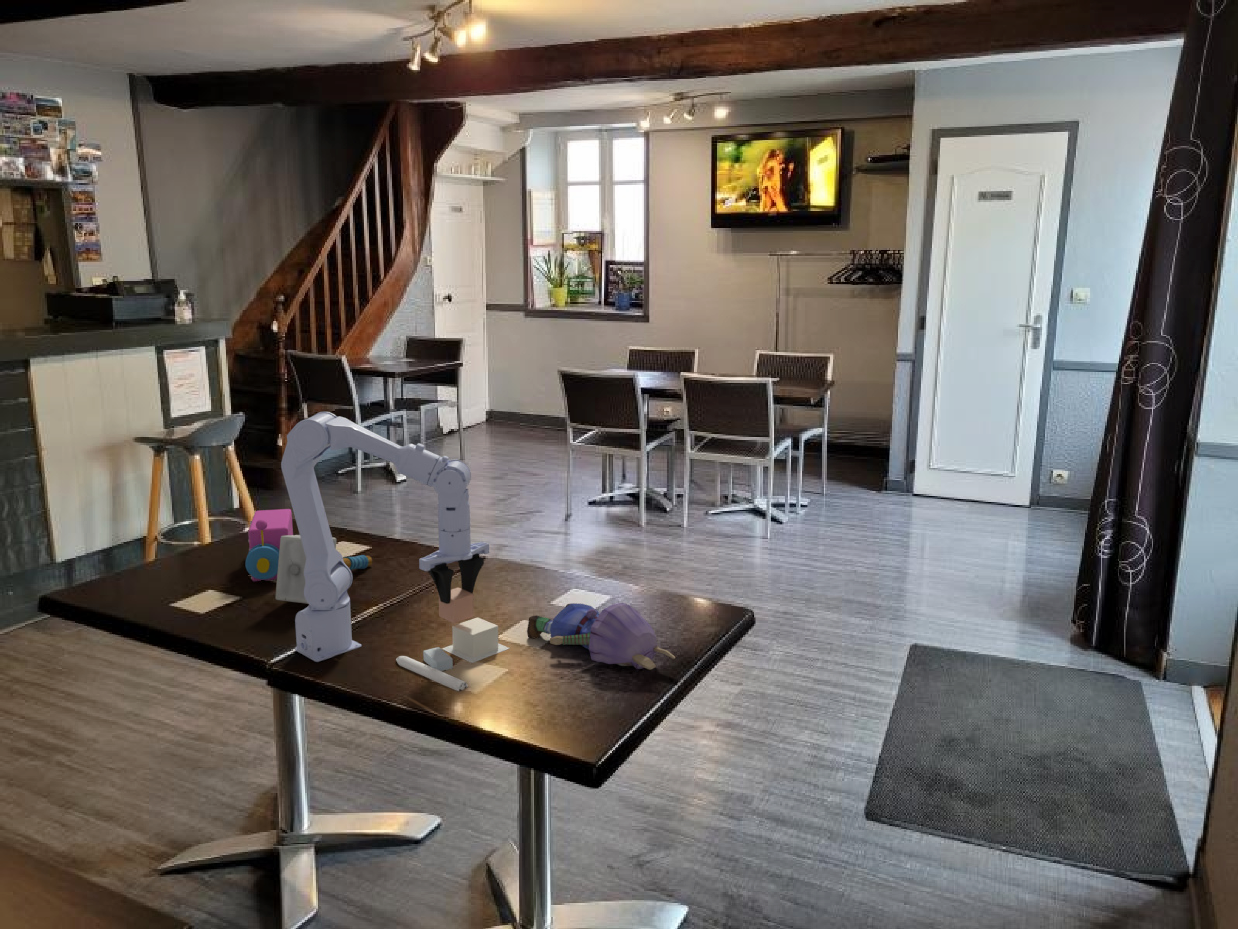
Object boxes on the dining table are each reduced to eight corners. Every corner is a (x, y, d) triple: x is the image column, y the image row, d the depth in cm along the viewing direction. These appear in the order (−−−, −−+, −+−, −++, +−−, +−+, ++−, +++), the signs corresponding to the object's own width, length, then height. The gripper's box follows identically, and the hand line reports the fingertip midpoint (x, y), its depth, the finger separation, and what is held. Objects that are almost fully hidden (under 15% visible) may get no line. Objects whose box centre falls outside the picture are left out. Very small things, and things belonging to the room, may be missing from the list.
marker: (391, 665, 165) (391, 653, 164) (401, 662, 166) (400, 650, 166) (458, 695, 154) (458, 682, 153) (468, 691, 155) (467, 678, 155)
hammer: (349, 587, 218) (272, 600, 189) (354, 531, 219) (278, 535, 190) (380, 591, 216) (307, 604, 187) (385, 534, 217) (313, 539, 188)
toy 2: (516, 651, 175) (630, 693, 154) (514, 597, 173) (628, 632, 152) (584, 626, 187) (697, 662, 166) (582, 576, 185) (696, 606, 165)
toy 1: (257, 552, 227) (252, 494, 224) (295, 550, 229) (291, 492, 226) (246, 590, 201) (241, 524, 198) (289, 586, 203) (285, 521, 200)
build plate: (471, 665, 165) (471, 662, 165) (441, 650, 171) (441, 648, 171) (509, 650, 171) (509, 648, 171) (479, 637, 177) (479, 635, 177)
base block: (473, 658, 167) (472, 634, 166) (452, 648, 171) (452, 626, 170) (498, 648, 171) (498, 625, 170) (477, 639, 175) (477, 617, 174)
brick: (452, 671, 163) (452, 658, 162) (437, 675, 161) (436, 662, 160) (439, 659, 167) (438, 647, 167) (423, 663, 166) (423, 650, 165)
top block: (454, 623, 167) (454, 600, 166) (439, 616, 170) (438, 593, 168) (473, 616, 170) (473, 594, 169) (458, 609, 173) (458, 587, 172)
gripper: (435, 540, 158) (437, 614, 161) (499, 524, 169) (500, 593, 171) (410, 532, 163) (413, 604, 166) (475, 516, 173) (476, 584, 176)
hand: (456, 598), depth 169 cm, fingers closed on top block, 4 cm apart
